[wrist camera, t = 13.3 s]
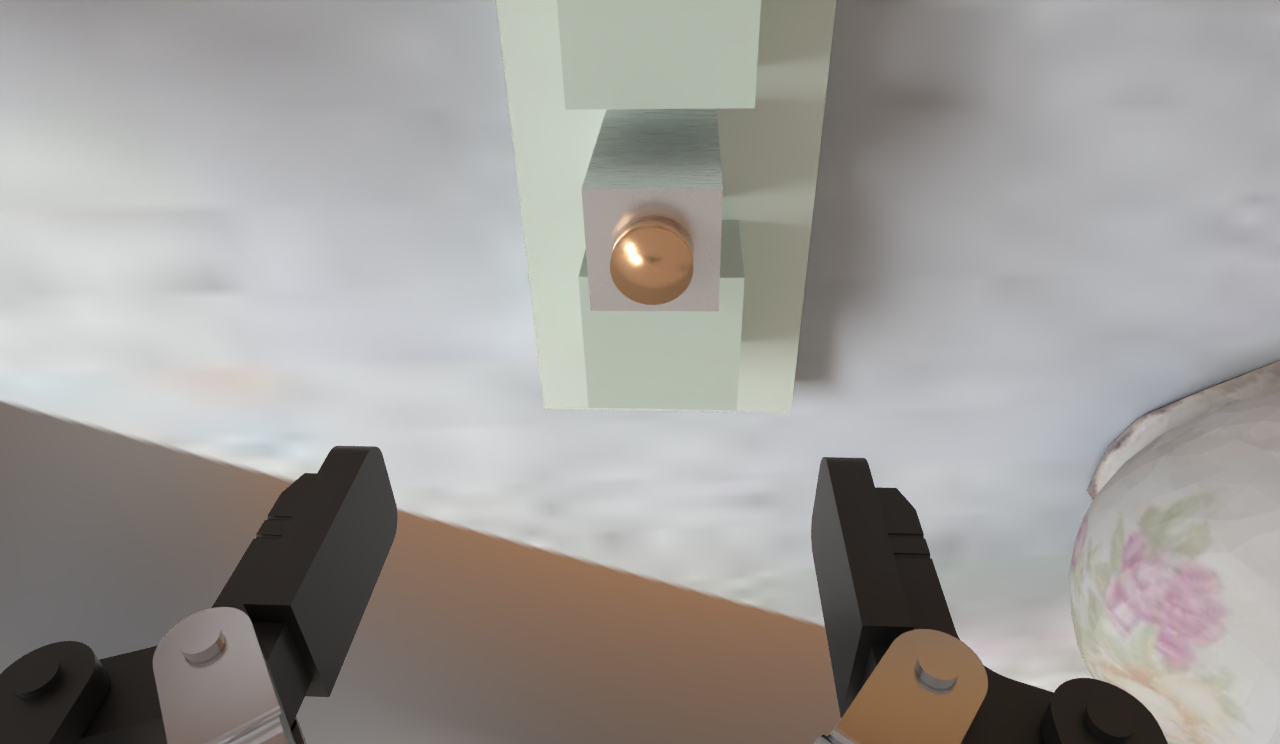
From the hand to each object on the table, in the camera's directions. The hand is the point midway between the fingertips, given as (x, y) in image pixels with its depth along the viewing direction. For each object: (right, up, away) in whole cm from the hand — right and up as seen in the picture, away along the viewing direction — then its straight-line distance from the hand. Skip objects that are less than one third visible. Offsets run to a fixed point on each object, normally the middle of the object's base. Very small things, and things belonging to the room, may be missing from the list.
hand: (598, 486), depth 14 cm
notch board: (+2, +11, +19) cm, 22 cm away
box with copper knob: (+2, +11, +16) cm, 20 cm away
